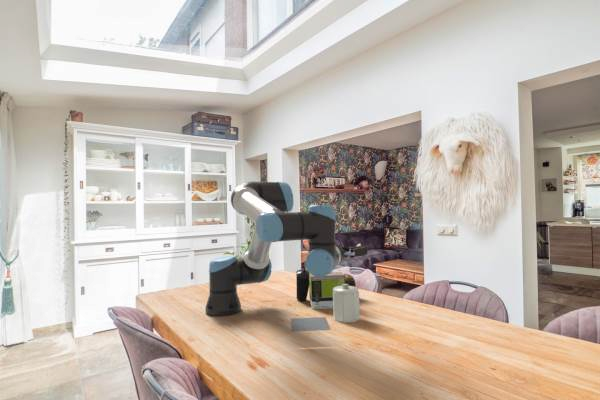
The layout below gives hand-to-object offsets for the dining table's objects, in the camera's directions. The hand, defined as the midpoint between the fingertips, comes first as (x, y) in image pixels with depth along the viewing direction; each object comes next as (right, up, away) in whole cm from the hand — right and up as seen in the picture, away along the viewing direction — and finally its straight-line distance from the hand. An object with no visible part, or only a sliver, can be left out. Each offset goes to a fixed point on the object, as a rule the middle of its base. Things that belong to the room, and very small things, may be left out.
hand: (341, 247), depth 122 cm
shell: (+6, -31, +39) cm, 50 cm away
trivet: (-12, -30, +3) cm, 32 cm away
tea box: (-3, -30, +27) cm, 41 cm away
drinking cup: (-15, -30, +38) cm, 50 cm away
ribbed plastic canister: (+3, -30, +9) cm, 31 cm away
